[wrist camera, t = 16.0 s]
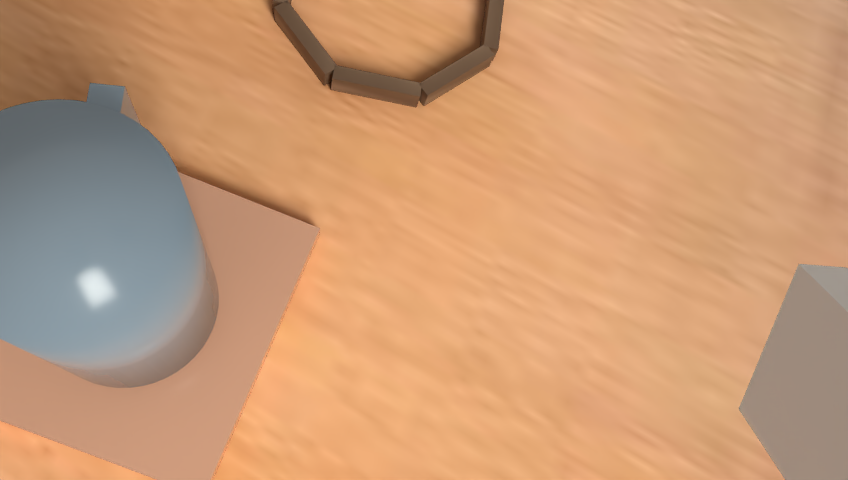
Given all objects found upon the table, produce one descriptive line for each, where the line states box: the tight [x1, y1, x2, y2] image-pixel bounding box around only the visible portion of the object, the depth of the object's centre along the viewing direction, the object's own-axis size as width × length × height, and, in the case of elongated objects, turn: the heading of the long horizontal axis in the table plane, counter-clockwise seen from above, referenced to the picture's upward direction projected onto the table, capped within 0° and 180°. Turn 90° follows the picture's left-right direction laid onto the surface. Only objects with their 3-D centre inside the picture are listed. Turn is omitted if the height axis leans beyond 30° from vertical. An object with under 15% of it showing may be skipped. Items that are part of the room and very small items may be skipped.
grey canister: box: [0, 83, 219, 388], centre depth 29 cm, size 10×8×12 cm
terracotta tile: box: [0, 172, 320, 480], centre depth 34 cm, size 13×13×1 cm
